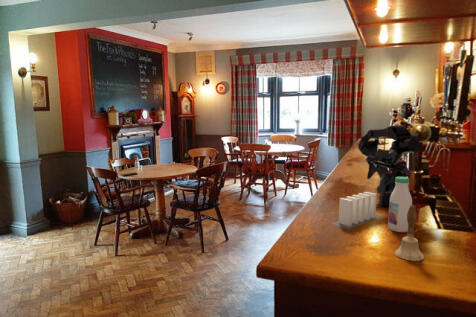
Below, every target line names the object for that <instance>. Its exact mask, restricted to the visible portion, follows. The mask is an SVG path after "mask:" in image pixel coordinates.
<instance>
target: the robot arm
mask: <svg viewBox="0 0 476 317" xmlns="http://www.w3.org/2000/svg"><path fill="white" fill-rule="evenodd" d="M385 137H386V138H387V139H390V140H391V139H392V142H391V144H392V145H391V146H390V148H389V149H382V148H379V145H380V140H379V139H380V138H385ZM372 139H373V140H372ZM421 144H422V143H421V142H420V140H419V139H418V138H417V137H416V135H412V134H411V132H410V130H409V129H408V128H407V125H405V124H404V125H401V124H399V125H389V126H387V127H386V128H381V129H368V130H367V132H366V134H365V135H363V136H362V137H361V138H360V140H359V142H358V144H357V148H358V150H359V152H361V155H364V156H365V157H366V158H365V162H366V164H368V170H367V177H366V179H367V180H370V179H371V178H372V177H374V175H375V174H376V173H377V175H378V177H379V178H380V179H379V185H378V186H377V187H376V194H379V196H378V203H377V206H380V207H382V208H383V209H389V203H390V196H391V194H392V192H393V190H394V188H395V186H396V183H395V178H396V177H407V178H409V175H410V173H411V172H410V169H409V168H408V167H407V164H404V163H400V162H402V160H403V159H402V156H403V155H404V154H410V153H413V154H414V153H418V152H419V151H420V149H421V148H422V145H421ZM389 169H390V170H392V171H390V170H389Z"/></svg>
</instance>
